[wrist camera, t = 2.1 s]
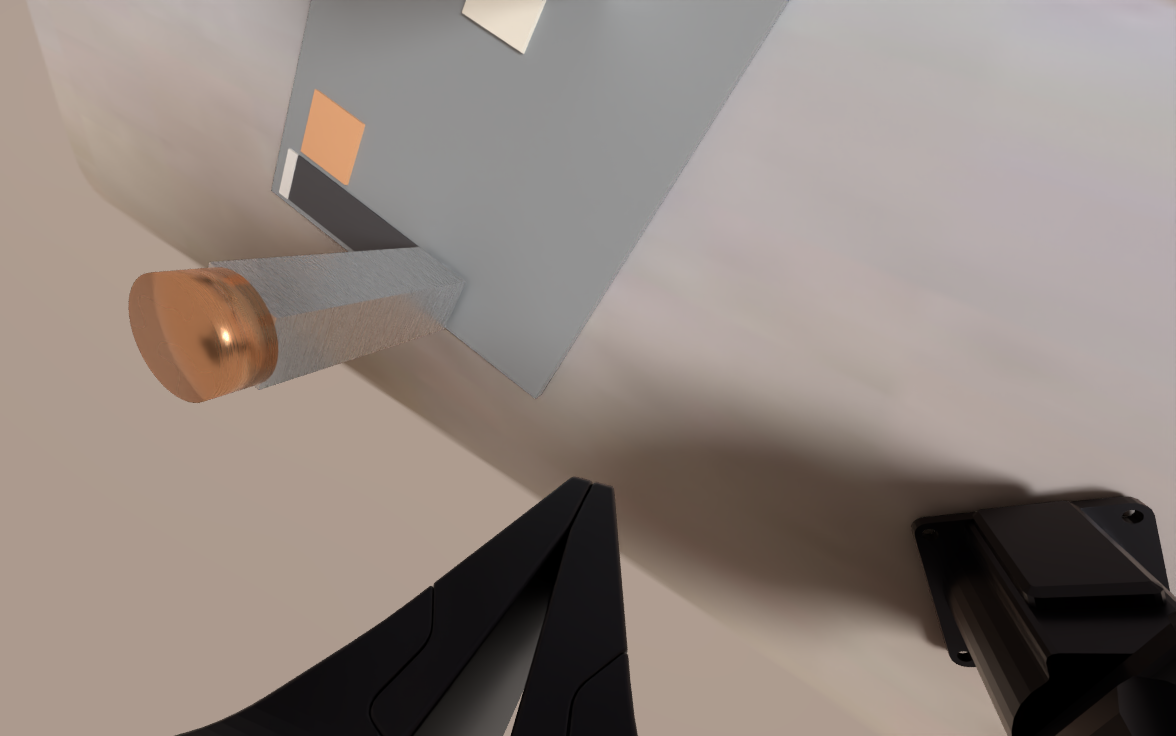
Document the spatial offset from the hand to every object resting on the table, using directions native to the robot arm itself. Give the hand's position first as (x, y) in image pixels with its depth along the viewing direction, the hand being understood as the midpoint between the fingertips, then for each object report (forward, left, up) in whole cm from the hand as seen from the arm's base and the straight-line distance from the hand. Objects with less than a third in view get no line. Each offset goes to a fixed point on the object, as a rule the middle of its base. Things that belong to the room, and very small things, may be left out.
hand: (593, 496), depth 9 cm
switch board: (+13, +5, -11) cm, 18 cm away
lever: (+7, +10, -11) cm, 16 cm away
